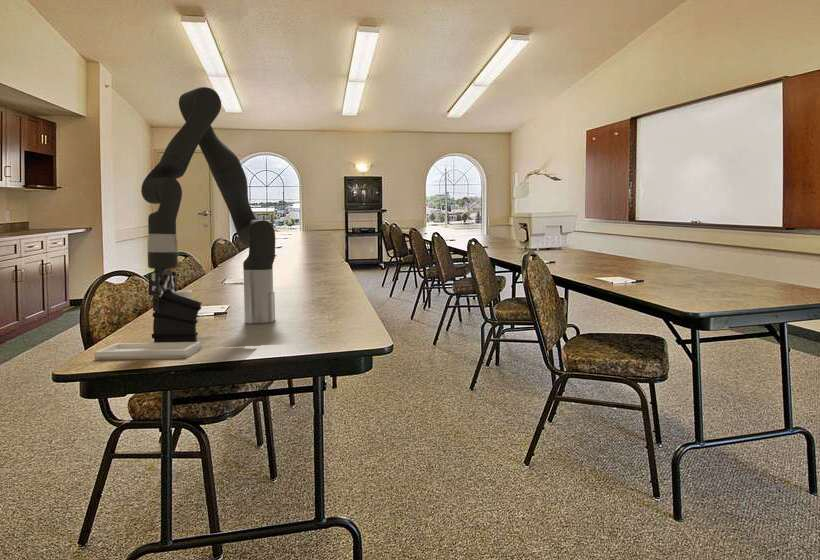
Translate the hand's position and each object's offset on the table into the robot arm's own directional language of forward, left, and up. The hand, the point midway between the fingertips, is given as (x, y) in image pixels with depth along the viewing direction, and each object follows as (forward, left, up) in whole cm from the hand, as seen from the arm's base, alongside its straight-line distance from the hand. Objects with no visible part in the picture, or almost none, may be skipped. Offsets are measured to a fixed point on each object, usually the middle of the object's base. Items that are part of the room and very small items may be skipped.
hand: (163, 309), depth 158 cm
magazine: (0, 0, -11) cm, 11 cm away
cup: (0, -11, -10) cm, 15 cm away
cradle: (-1, +12, -10) cm, 15 cm away
